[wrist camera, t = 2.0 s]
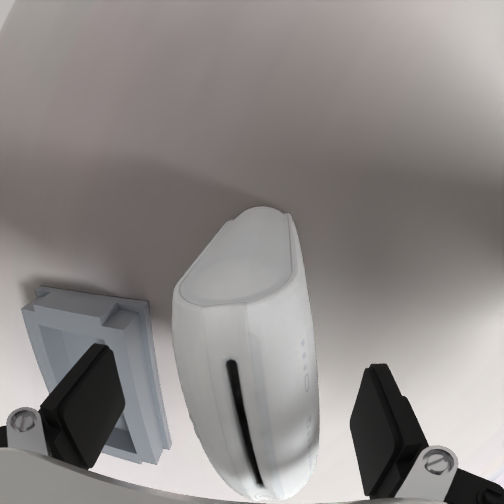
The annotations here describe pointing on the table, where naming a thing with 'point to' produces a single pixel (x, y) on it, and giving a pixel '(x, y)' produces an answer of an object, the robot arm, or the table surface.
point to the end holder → (125, 352)
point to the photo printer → (250, 355)
